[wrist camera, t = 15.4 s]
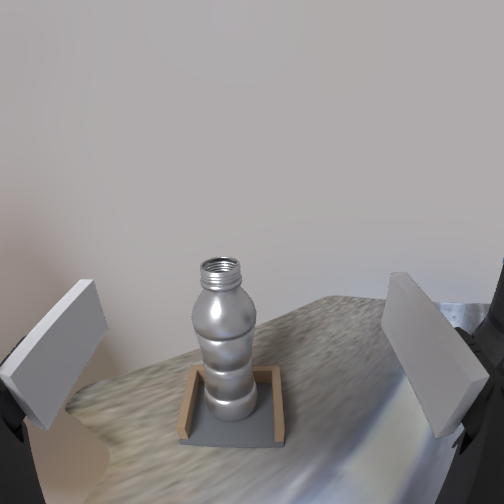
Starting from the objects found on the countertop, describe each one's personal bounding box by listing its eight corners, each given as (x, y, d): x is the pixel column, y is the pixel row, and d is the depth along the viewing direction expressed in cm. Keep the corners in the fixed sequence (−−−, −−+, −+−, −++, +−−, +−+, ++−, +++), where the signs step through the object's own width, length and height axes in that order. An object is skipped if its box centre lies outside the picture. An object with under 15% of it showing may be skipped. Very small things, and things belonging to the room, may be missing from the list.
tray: (278, 377, 40) (278, 363, 39) (283, 446, 29) (285, 433, 28) (194, 377, 40) (191, 362, 39) (180, 443, 29) (175, 430, 28)
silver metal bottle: (197, 418, 32) (169, 274, 25) (220, 384, 38) (206, 247, 31) (246, 434, 30) (238, 287, 23) (265, 396, 36) (266, 255, 29)
